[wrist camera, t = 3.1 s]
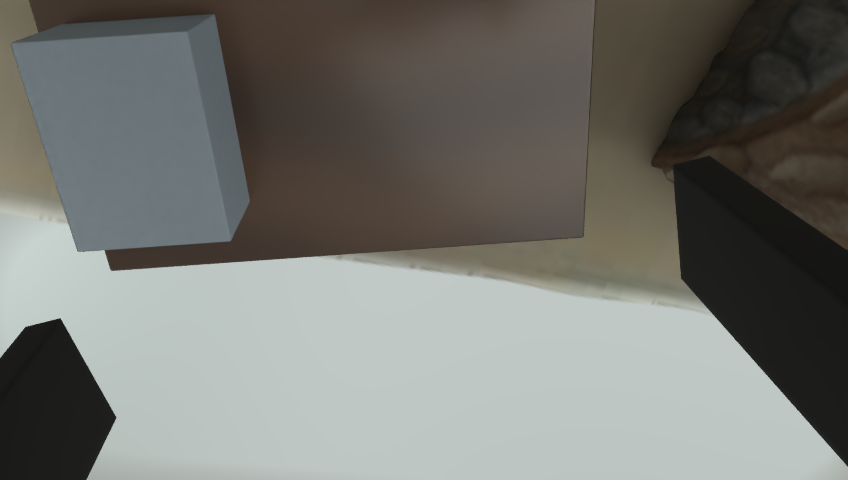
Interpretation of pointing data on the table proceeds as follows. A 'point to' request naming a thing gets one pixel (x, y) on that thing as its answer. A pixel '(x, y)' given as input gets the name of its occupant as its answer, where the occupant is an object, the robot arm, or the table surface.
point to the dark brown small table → (389, 121)
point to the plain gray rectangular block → (137, 130)
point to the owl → (777, 110)
